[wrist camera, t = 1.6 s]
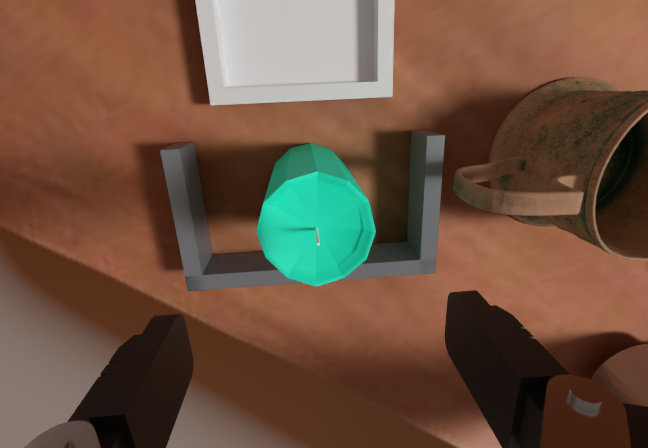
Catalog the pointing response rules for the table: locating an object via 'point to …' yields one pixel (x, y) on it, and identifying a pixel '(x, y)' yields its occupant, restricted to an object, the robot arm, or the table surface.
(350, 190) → the candle
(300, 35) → the white square tray
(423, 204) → the bay
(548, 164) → the mug
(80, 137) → the table surface
